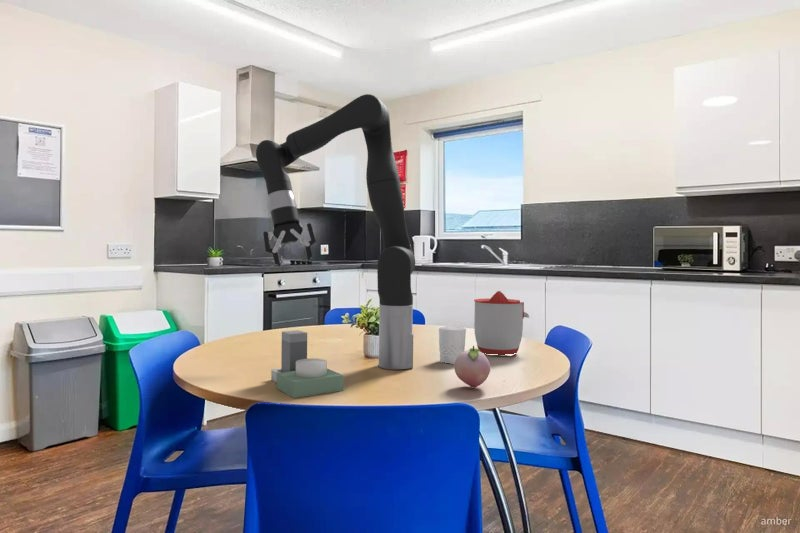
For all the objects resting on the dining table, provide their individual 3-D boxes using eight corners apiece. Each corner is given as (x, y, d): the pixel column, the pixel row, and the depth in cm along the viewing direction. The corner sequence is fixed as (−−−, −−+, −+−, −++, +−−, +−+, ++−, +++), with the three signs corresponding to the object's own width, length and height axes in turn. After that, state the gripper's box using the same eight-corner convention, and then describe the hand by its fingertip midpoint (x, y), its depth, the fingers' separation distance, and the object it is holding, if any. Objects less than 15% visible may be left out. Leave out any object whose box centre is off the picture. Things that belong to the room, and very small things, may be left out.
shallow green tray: (263, 380, 129) (263, 354, 129) (308, 374, 136) (309, 349, 136) (294, 398, 114) (294, 368, 114) (343, 390, 121) (343, 362, 121)
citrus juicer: (533, 359, 160) (535, 293, 160) (476, 358, 161) (477, 292, 160) (522, 349, 176) (523, 289, 175) (470, 348, 176) (471, 288, 176)
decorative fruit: (452, 382, 130) (453, 342, 129) (486, 383, 129) (487, 342, 129) (455, 393, 120) (456, 349, 120) (491, 393, 120) (492, 349, 120)
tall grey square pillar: (281, 380, 130) (281, 331, 129) (297, 378, 132) (298, 330, 132) (289, 384, 126) (290, 334, 125) (306, 382, 128) (307, 332, 128)
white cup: (469, 361, 156) (470, 327, 156) (457, 366, 149) (458, 330, 149) (445, 358, 160) (446, 325, 160) (433, 362, 153) (433, 328, 153)
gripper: (256, 210, 149) (267, 266, 147) (307, 201, 151) (318, 256, 149) (260, 216, 156) (271, 270, 154) (308, 207, 158) (319, 260, 156)
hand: (294, 263), depth 152 cm, fingers open, 8 cm apart
